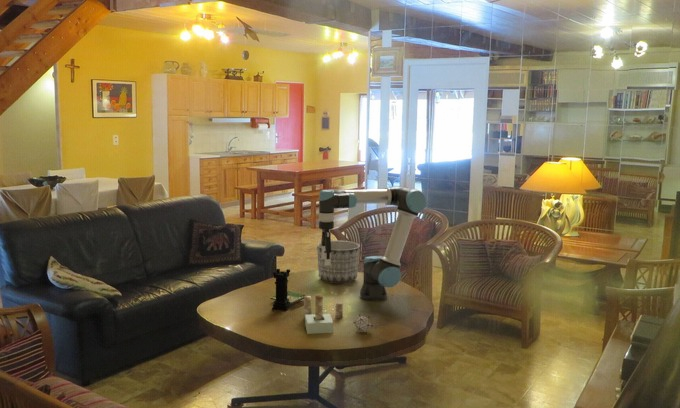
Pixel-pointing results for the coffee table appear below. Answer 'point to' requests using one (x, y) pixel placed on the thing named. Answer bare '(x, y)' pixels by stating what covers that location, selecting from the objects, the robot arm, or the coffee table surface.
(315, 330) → the collar block
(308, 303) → the pin medium
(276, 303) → the chess piece
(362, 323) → the spiky lattice ball
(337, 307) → the pin short
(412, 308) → the coffee table surface
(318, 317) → the pin long
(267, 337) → the coffee table surface
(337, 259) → the planter
